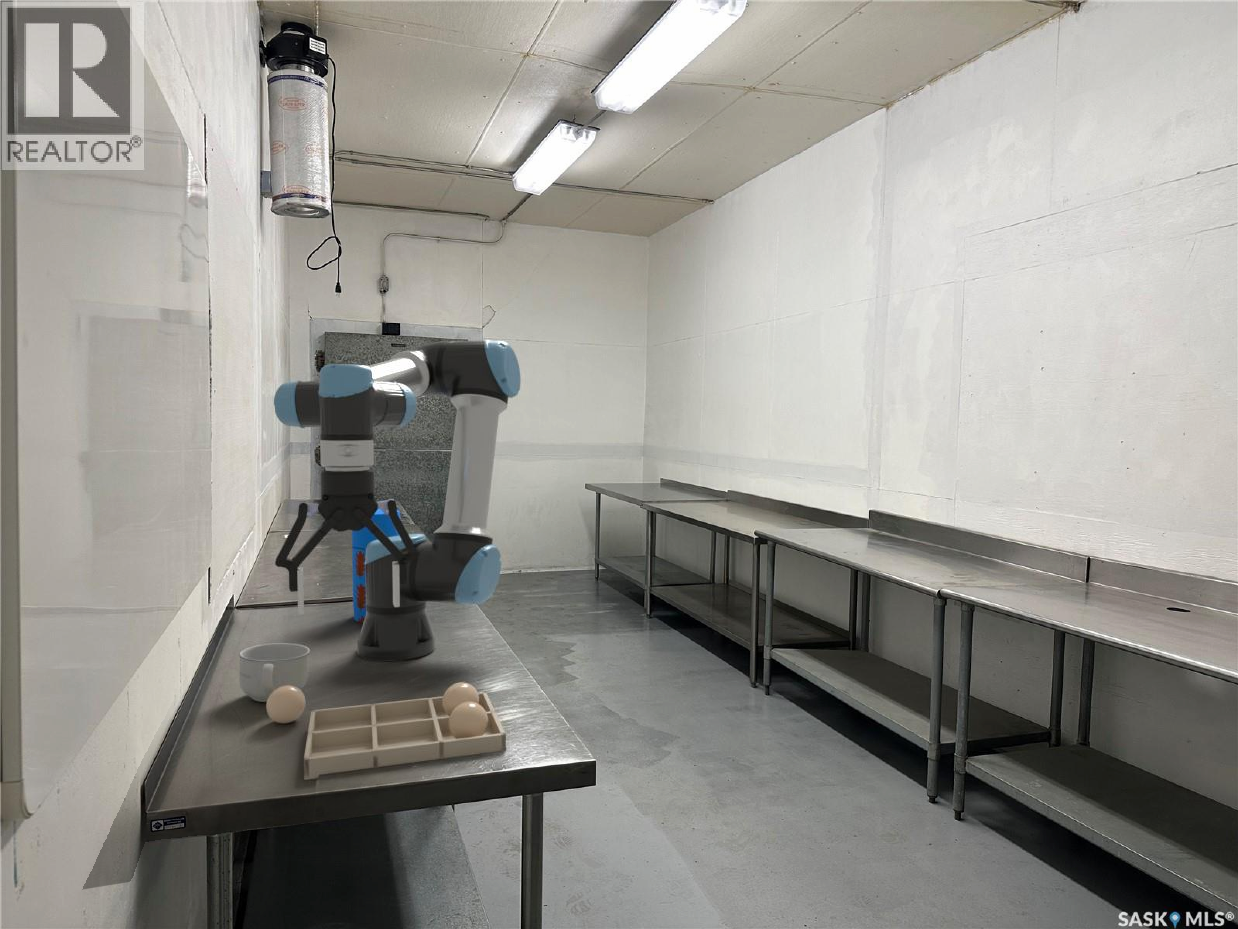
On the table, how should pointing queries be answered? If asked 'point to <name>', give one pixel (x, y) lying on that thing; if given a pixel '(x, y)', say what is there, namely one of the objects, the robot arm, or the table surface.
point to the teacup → (272, 668)
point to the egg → (285, 704)
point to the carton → (391, 735)
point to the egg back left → (459, 696)
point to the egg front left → (468, 720)
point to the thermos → (358, 559)
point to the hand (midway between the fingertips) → (349, 609)
